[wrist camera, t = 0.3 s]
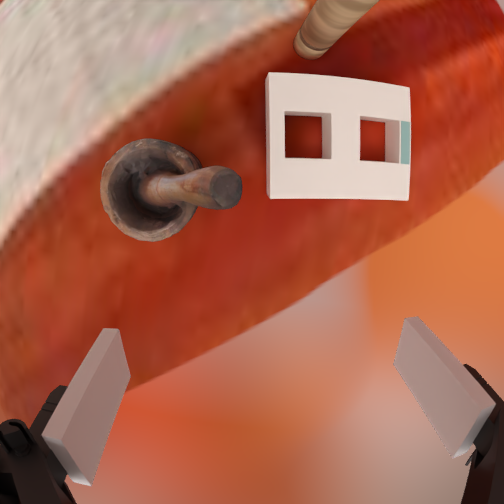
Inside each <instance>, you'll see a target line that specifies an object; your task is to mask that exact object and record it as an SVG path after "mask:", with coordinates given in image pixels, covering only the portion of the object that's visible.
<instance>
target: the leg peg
mask: <svg viewBox="0 0 504 504" xmlns="http://www.w3.org/2000/svg"><path fill="white" fill-rule="evenodd" d="M378 1H379V0H317V1H316V3H315V5H314V6H313V8H312V10H311V11H310V13H309V15H308V16H307V18H306V20H305V21H304V23H303V25H302V27H301V28H300V30H299V32H298V34H297V35H296V37H295V39H294V42H293V46H294V49H295V51H296V53H297V54H298V55H299V56H301V57H302V58H304V59H308V60H315V59H318V58H320V57H321V56H322V55H323V54H324V53H325V52H326V51H327V50H328V49H329V48H330V47H331V46H332V45H333V44H334V43H335V42H336V41H337V40H338V39H339V38H340V37H341V36H342V35H343V34H344V33H345V32H346V31H347V30H348V29H349V28H350V27H351V26H352V25H353V24H354V23H356V22H357V21H358V20H359V19H360V18H361V17H362V16H363V15H364V14H365V13H366V12H367V11H368V10H369V9H370V8H372V7H373V6H374V5H375V4H376V3H377V2H378Z"/></svg>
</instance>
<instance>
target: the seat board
mask: <svg viewBox="0 0 504 504" xmlns="http://www.w3.org/2000/svg"><path fill="white" fill-rule="evenodd" d="M265 91H266V174H267V195H268V196H269V198H270V199H297V198H316V199H379V200H408V199H409V183H410V158H411V111H410V88H409V87H404V86H398V85H393V84H387V83H381V82H375V81H368V80H361V79H353V78H345V77H336V76H325V75H313V74H297V73H272V72H269V73H268V75H267V77H266V80H265ZM284 115H297V116H318V117H322V158H285V118H284ZM360 120H368V121H377V122H385V162H381V161H367V160H360Z"/></svg>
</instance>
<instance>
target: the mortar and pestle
mask: <svg viewBox="0 0 504 504" xmlns="http://www.w3.org/2000/svg"><path fill="white" fill-rule="evenodd" d="M100 193H101V200H102V204H103V207H104V210H105V212H106V213H108V215H109V217H110V219H111V221H112V222H113V223H114V224H115V225H116V226H117V227H118V228H119V229H120V230H121V231H122V232H123V233H124V234H126V235H128V236H130V237H133V238H135V239H138V240H143V241H152V242H153V241H160V240H163V239H165V238H168V237H171V236H172V235H173V234H175V233H178V232H179V231H180V230H181V229H182V228H183V227H184V226H185V225H186V224H187V222H189V221H190V219H191V218H192V217H193V215H194V213H195V212H196V209H197V207H198V206H201V207H204V208H209V209H216V210H218V209H229V208H232V207H234V206H235V205H237V204H238V202H239V200H240V199H241V195H242V181H241V177H240V176H239V175H238V174H237V173H236V172H235V171H234V170H232V169H229V168H226V167H223V166H210V167H205V168H202V166H201V163H200V161H199V160H198V158H197V157H196V156H195V155H194V154H192V153H191V152H189V151H187V150H185V149H184V148H183V147H181V146H179V145H176V144H173V143H170V142H167V141H164V140H158V139H141V140H137V141H134V142H131V143H129V144H127V145H126V146H124V147H122V148H121V149H120V150H119V151H117V152H116V153H115V154H114V155H113V156H112V158H111V159H110V160H109V161H108V162H107V163H106V164H105V166H104V169H103V171H102V179H101V188H100Z"/></svg>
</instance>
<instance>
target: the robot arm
mask: <svg viewBox="0 0 504 504" xmlns="http://www.w3.org/2000/svg"><path fill="white" fill-rule="evenodd" d="M393 365H394V366H395V368H396V369H397V371H398V372H399V374H400V375H401V377H402V378H403V380H404V381H405V383H406V385H407V386H408V387H409V389H410V391H411V392H412V394H413V395H414V397H415V399H416V400H417V402H418V403H419V405H420V406H421V408H422V410H423V411H424V413H425V414H426V416H427V418H428V419H429V421H430V422H431V424H432V426H433V427H434V429H435V430H436V432H437V434H438V435H439V437H440V439H441V440H442V442H443V444H444V446H445V447H446V449H447V450H448V452H449V454H450V456H451V457H452V458H455V457H457V456H459V455H462V454H464V453H466V452H467V451H468V450H469V448H470V446H471V445H472V443H474V445H475V446H476V449H475V451H474V452H473V454H472V455H471V456H470V458H469V459H468V461H467V463H466V464H465V465H466V466H467V465H468V464H469V463H470V461H471V466H470V470H469V475H468V479H467V483H466V487H465V491H464V495H463V498H462V501H461V504H504V401H503V400H502V399H501V398H500V397H499V396H498V395H497V393H496V392H495V391H494V390H493V389H492V388H491V386H490V385H489V384H487V382H486V381H485V380H484V378H482V376H481V375H480V374H479V373H478V372H477V371H476V370H475V369H474V368H472V367H471V366H469V365H467V364H464V365H462V364H461V363H460V361H459V360H458V359H457V358H456V357H455V356H454V355H453V354H452V353H451V352H450V350H449V349H448V348H447V347H446V346H445V345H444V344H443V343H442V342H441V341H440V339H438V337H437V336H436V335H435V334H434V333H433V332H432V331H431V330H430V329H429V328H428V327H427V326H426V325H425V324H424V323H423V321H422V320H421V319H419V317H411V318H405V319H404V324H403V328H402V333H401V336H400V341H399V345H398V348H397V352H396V356H395V360H394V363H393ZM130 377H131V376H130V372H129V369H128V365H127V361H126V357H125V353H124V349H123V345H122V341H121V337H120V332H119V329H108V328H104V329H103V330H102V332H101V333H100V335H99V336H98V338H97V340H96V341H95V343H94V344H93V346H92V348H91V349H90V351H89V352H88V354H87V356H86V357H85V359H84V361H83V362H82V364H81V366H80V367H79V369H78V371H77V372H76V374H75V376H74V377H73V379H72V381H71V382H70V384H69V386H68V387H67V386H61V385H60V386H58V387H57V388H56V389H55V390H53V391H52V392H51V393H50V395H49V396H48V398H47V400H46V401H45V402H46V403H44V405H43V406H42V408H41V410H40V411H39V413H38V415H37V417H36V418H35V420H34V422H33V423H32V425H31V427H30V429H28V428H27V426H26V424H25V423H24V422H23V421H21V420H18V419H10V420H7V421H5V422H2V423H1V424H0V504H77V503H76V502H75V500H74V498H73V496H72V494H71V492H70V490H69V488H68V486H67V484H66V483H65V481H64V480H65V478H66V475H67V474H68V475H69V477H70V478H71V479H72V481H73V482H76V483H80V484H84V485H89V486H92V484H93V480H94V477H95V474H96V471H97V468H98V465H99V462H100V459H101V456H102V453H103V450H104V447H105V444H106V441H107V439H108V436H109V433H110V430H111V427H112V425H113V422H114V419H115V416H116V413H117V411H118V408H119V405H120V403H121V400H122V397H123V395H124V392H125V390H126V387H127V384H128V382H129V379H130Z"/></svg>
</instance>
